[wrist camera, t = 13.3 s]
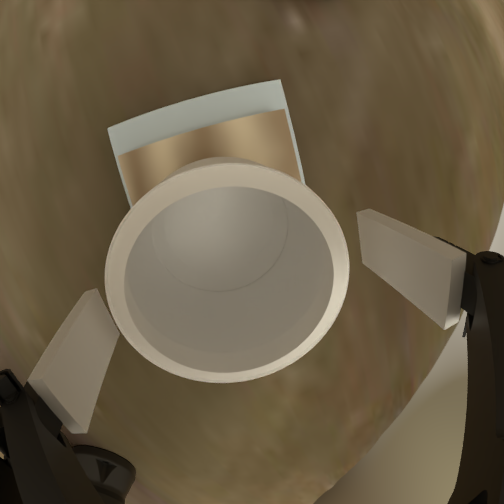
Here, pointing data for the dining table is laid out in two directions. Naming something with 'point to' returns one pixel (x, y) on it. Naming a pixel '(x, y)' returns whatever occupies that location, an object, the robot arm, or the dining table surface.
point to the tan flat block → (212, 150)
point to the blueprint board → (199, 118)
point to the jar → (226, 271)
